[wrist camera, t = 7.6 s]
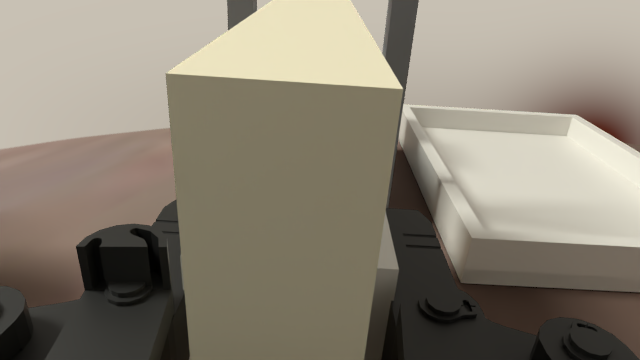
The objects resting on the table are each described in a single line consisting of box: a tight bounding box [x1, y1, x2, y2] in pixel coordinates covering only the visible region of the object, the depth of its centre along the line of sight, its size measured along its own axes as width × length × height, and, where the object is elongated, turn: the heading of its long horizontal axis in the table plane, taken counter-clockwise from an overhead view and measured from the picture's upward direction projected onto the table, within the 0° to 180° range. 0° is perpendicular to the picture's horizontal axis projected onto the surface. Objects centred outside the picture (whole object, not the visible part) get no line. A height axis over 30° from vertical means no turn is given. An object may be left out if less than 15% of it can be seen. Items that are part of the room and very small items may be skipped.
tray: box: [398, 104, 640, 292], centre depth 30 cm, size 16×21×2 cm
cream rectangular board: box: [166, 0, 403, 360], centre depth 13 cm, size 2×15×12 cm, turn 179°
